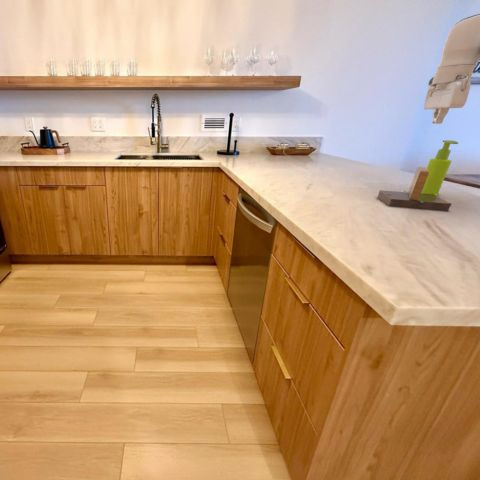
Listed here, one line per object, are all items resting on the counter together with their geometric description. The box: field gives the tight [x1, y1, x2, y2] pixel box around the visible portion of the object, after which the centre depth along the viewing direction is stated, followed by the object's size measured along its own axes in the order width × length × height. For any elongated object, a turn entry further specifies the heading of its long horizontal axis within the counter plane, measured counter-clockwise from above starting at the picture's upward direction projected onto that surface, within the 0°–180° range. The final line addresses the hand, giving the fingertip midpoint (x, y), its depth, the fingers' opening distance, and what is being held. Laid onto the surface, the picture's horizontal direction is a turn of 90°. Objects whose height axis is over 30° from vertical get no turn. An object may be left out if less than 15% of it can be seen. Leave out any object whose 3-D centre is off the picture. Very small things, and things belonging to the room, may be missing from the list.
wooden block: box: [407, 166, 429, 201], centre depth 96 cm, size 11×2×9 cm, turn 144°
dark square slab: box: [376, 189, 452, 212], centre depth 99 cm, size 16×15×3 cm
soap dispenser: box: [421, 140, 459, 197], centre depth 107 cm, size 6×7×20 cm
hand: (436, 123), depth 98 cm, fingers closed
